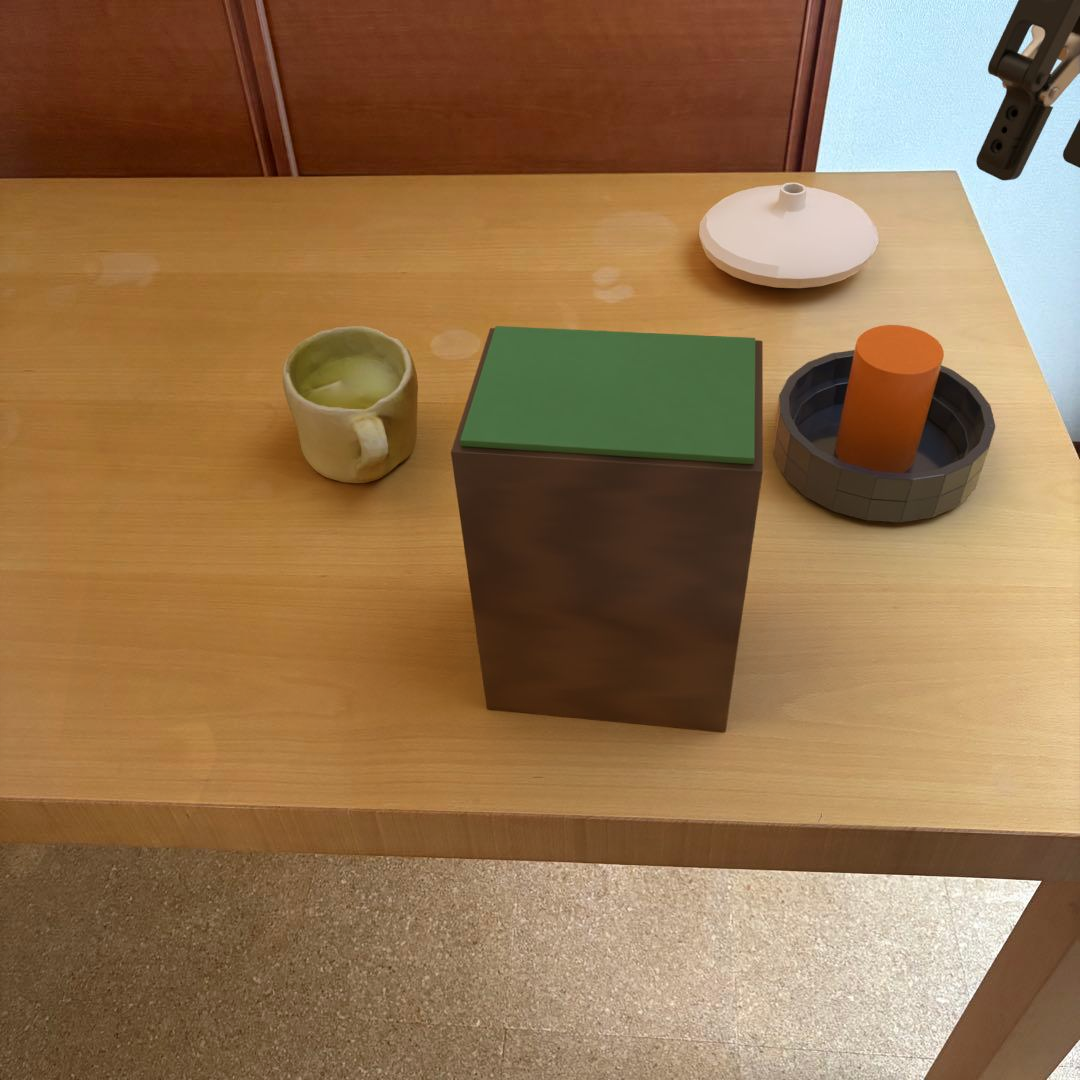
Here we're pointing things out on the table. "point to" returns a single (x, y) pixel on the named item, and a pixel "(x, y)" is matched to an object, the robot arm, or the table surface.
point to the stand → (608, 578)
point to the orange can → (888, 397)
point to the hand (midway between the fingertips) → (1039, 170)
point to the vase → (788, 236)
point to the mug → (353, 402)
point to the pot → (921, 492)
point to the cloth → (616, 395)
